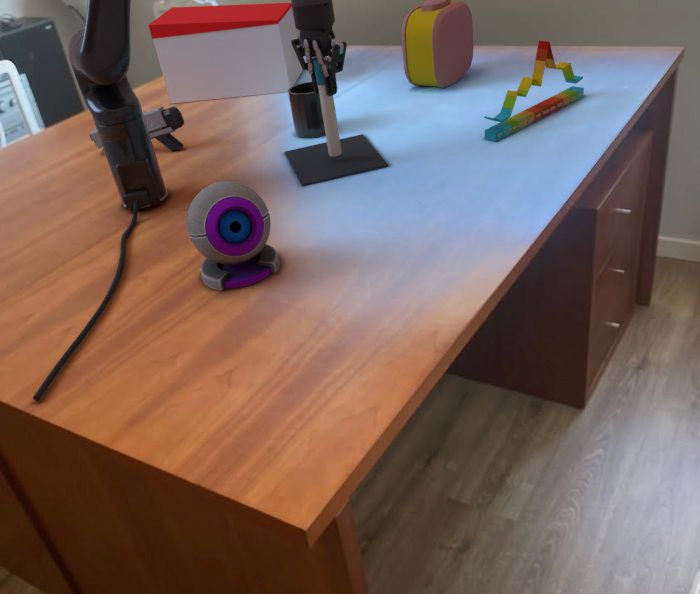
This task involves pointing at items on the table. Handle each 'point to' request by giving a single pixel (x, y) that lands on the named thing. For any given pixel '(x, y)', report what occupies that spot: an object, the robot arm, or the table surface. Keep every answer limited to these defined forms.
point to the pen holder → (306, 111)
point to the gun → (157, 127)
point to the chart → (541, 109)
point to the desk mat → (334, 160)
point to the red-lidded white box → (226, 50)
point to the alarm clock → (437, 43)
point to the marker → (328, 112)
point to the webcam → (231, 235)
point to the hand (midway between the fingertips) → (325, 93)
